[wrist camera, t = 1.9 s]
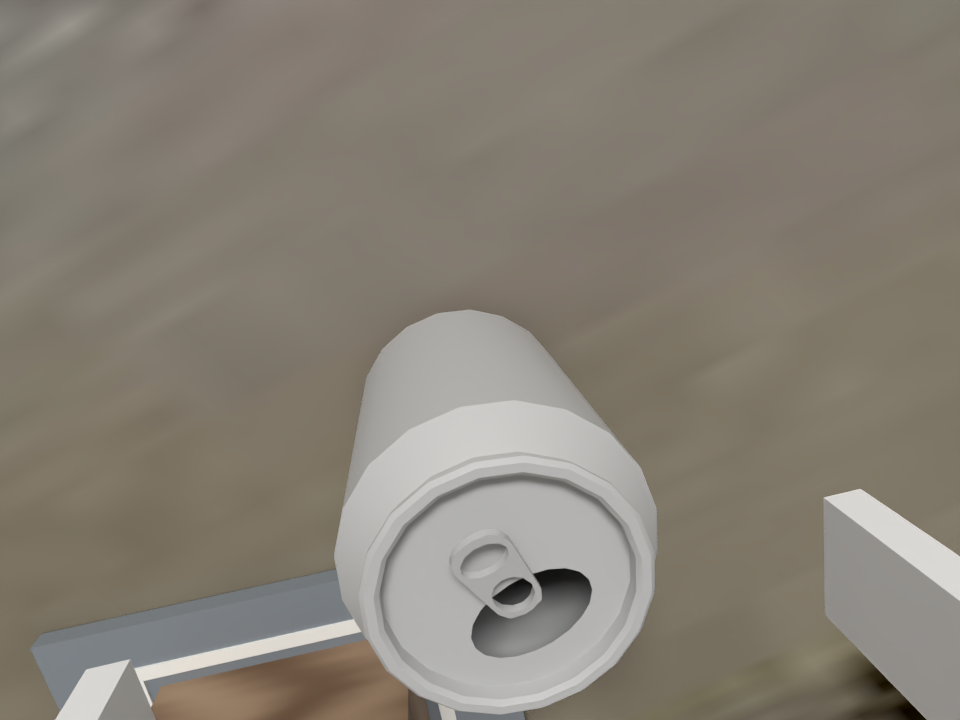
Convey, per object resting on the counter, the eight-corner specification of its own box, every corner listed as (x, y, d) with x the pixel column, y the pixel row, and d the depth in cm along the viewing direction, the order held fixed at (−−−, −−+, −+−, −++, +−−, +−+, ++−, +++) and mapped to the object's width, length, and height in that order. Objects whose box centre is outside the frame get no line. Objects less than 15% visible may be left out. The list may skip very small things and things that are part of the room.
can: (433, 522, 26) (458, 802, 14) (321, 376, 24) (244, 569, 12) (591, 423, 25) (746, 630, 14) (492, 265, 23) (581, 356, 12)
